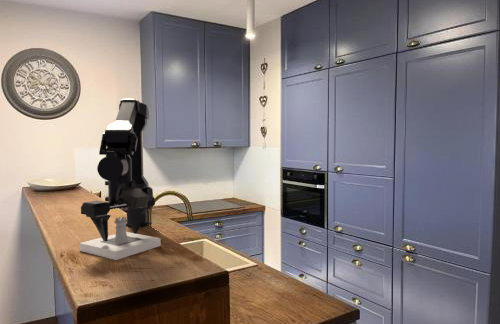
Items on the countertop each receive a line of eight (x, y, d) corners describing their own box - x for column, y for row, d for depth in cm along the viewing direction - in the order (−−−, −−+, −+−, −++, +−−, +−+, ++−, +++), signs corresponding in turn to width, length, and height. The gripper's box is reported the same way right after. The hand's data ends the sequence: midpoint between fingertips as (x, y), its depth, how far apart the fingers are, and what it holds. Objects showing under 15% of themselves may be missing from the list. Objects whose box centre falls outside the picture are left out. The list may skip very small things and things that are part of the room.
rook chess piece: (111, 247, 93) (111, 216, 92) (129, 245, 95) (129, 215, 94) (112, 251, 89) (112, 220, 88) (131, 249, 91) (130, 218, 90)
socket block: (125, 238, 101) (125, 231, 101) (160, 245, 94) (160, 237, 94) (79, 250, 89) (79, 242, 89) (115, 260, 82) (115, 251, 82)
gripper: (108, 181, 79) (109, 251, 79) (169, 175, 94) (169, 233, 95) (78, 179, 84) (80, 244, 85) (140, 174, 100) (141, 228, 101)
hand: (121, 237), depth 91 cm, fingers open, 9 cm apart
